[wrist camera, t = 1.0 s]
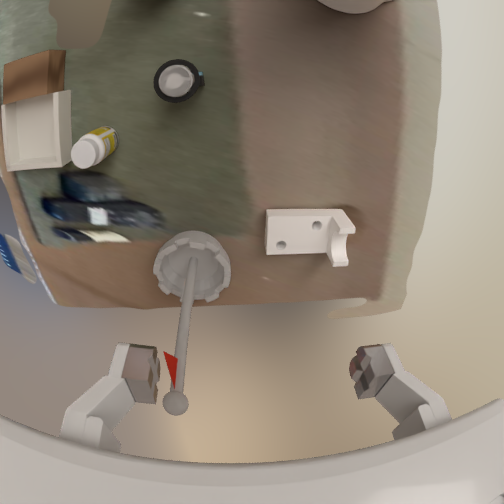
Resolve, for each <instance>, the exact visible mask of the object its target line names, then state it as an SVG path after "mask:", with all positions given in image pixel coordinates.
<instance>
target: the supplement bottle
mask: <svg viewBox="0 0 504 504" xmlns="http://www.w3.org/2000/svg"><path fill="white" fill-rule="evenodd" d="M118 142H119V139H118V135H117V133H116V131H115V130H114V129H113V128H111V127H108V126H103V127H100V128H98V129H96V130H94V131H92V132H90V133H88V134H86V135H84V136H82V137H81V138H80V139H79V141H78V142H77V143H75V145H74V146H73V148H72V150H71V158H72V161H73V163H74V164H75V165H76V166H77V167H79V168H83V169H84V168H88V167H90V166H93V165H96V164H98V163H100V162H101V161H102V160H103V159H105V158H106V157H107V156H109V155H110V154H111V153H112V152H114V151H115V149H116V148H117V146H118Z"/></svg>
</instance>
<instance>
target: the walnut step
mask: <svg viewBox="0 0 504 504" xmlns="http://www.w3.org/2000/svg"><path fill="white" fill-rule="evenodd" d="M65 55H66V51H65V50H47V51H44V52H40V53H37V54H34V55H30V56H27V57H24V58H21V59H18V60H16V61H13V62H10V63H7V64H5V65H4V79H3V105H5V104H8V103H12V102H15V101H19V100H23V99H27V98H32V97H36V96H41V95H45V94H50V93H55V92H60V91H64V69H65Z"/></svg>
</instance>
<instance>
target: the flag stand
mask: <svg viewBox="0 0 504 504" xmlns="http://www.w3.org/2000/svg"><path fill="white" fill-rule="evenodd" d="M153 274H156V276H157V278H158V280H159V284H158V286H159V287H160V289H161V290H162V291H163V292H164V293H165V294H166V295H168V294H169V293H170V292H171V293H172V294H174V295H176V296H179V297H180V302H182V306H181V313H180V319H179V327H178V334H177V340H176V348H175V355H174V356H172V355H170V354H167V353H166V352H164V355H165V359H166V362H167V366H168V369H169V372H170V376H171V388H170V392H168V393H167V394H166V395H165V396H164V398H163V407H164V409H165V410H166V411H167V412H168V413H169V414H171V415H181V414H183V413H185V412H186V410H187V408H188V399H187V397H186V396H185V395H184V394H183V387H184V376H185V365H186V355H187V345H188V336H189V327H190V318H191V309H192V304H193V303H194V300H199V299H205V300H206V301H207V302H210V301H213V300H215V299H216V298H218V297H219V292H220V291H222V290H223V289H224V288H225V287H226V288H228V286H229V283H230V278H231V266H230V260H229V257H228V255H227V253H226V252H225V250H224V249H223V248H222V246H221V244H220V243H219V242H218V241H217V240H216V239H215V238H214V237H212V236H211V235H209V234H207V233H204V232H201V231H185V232H181V233H179V234H177V235H175V236H174V237H173V238H172V239H170V240H169V241H167V242H166V243H165V244H164V245H163V246H162V247H161V248H160V250H159V252H158V254H157V257H156V260H155V263H154V267H153Z"/></svg>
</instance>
